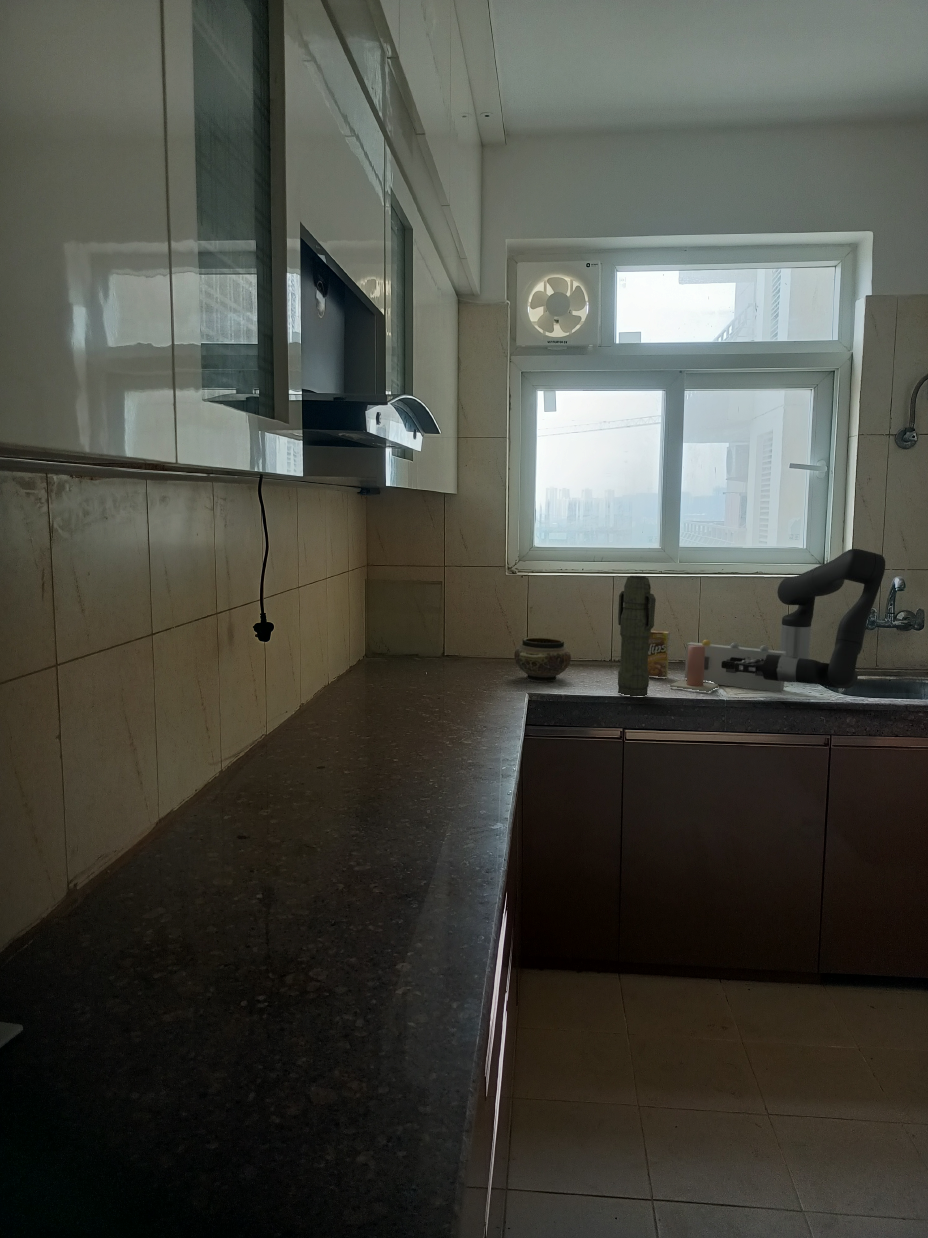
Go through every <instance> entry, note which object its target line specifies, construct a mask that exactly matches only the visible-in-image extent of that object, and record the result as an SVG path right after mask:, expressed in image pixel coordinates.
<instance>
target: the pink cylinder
mask: <svg viewBox="0 0 928 1238" xmlns="http://www.w3.org/2000/svg"><path fill="white" fill-rule="evenodd" d="M704 660H705V646H701V645H688V662H687V685H689V686H703V680H704Z"/></svg>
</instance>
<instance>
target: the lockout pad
mask: <svg viewBox="0 0 928 1238" xmlns="http://www.w3.org/2000/svg"><path fill="white" fill-rule="evenodd" d="M670 687H677V688H683V689H692V690H699V691H706V692H709V691H711V690H713V689H715V688H718V687H720V686H719V685H718V684H710V683H703V686H689V685H687V681H686V680H685V679H684V680H683V679H681V680H678V681H676V682H673V683H672V684H669V688H670Z"/></svg>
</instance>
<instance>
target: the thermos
mask: <svg viewBox="0 0 928 1238" xmlns="http://www.w3.org/2000/svg"><path fill="white" fill-rule="evenodd" d="M651 589H652V587H651V582H650V580H649V577H647V576H645V575H630V576H627V577H626V580H625V583H624V586H623V590H621V592H620V593H619V595H618V609H617V610H618V613H617V615H618V616H617V621H618V623H617V624H618V626H619V629H620V631H619V635H620V637H621V638H620V639H621V642H620V643H621V645H620V646H621V647H620V667H619V669H618V671H617V686H618V688H617V694H618V693H621V694H624V695H630V696H645V695H647V694H648V691H649V690H648V689H649V685H650V678H649V671H648V646H649V638H650V636H651V631H652V629H653V628H654V627H655V614H656V613H655V612H656V603H657V601H656V597H655V595H654V593H651V591H652V590H651ZM647 696H648V695H647ZM645 697H646V696H645Z"/></svg>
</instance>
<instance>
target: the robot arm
mask: <svg viewBox="0 0 928 1238" xmlns="http://www.w3.org/2000/svg"><path fill="white" fill-rule="evenodd" d="M885 571H886V559H885V557H884V556H883V555H881V554H879V553H875V552H872V551H868V550H863V549H862V548H861V549H859V548H851V549H848V550H846V551H844V552H843V553H841V554H840V555H839V556H837V557H835V558H833V559H831V560H830V561H827V562H825V563H824V564H820V565H818V566H816V567H814V568H812V569H810V570H807V571H804V572H803V573H800V574H798V575H795V576H790V577H785V578H783V579H782V580H781V581H780V583H779V585H778V587H777V597H778V599H779V601H780V602H781V603H782V604H784V605H787V606H798V607H797V608H796V610H794V611H793V612H791V613H789V614H786V615H785V614H784V615H783V616H782V618H781V629H780V630H781V631H780V643H779V644H780V646H779V651H784V652H786V656H781V655H771V654H767V655H766V656H765V658H764V659H760V658H752V657H747V658H746V657H745V658H736V657H731V658H730V661H722V665H721V667H722V668H724V669H733V670H735V672H744V673H752V674H754V673H757V672H762V673H763V678H764V679H765V680H773V681H782V682H784V683H799V684H800V683H801V684H807V685H808V684H809V685H810V684H811V685H820V686H824V687H828V688H829V687H830V688H834V689H840V690H841V689H842V690H843V689H844V690H846V689H849V688H850V689H851V688H852V687H854V686H855V684H856V683H857V681H858V680H859V679H858V676H859V675H858V672H857V670H856V666H857V663H858V662H857V661H858V656H859V655H860V654H861V651H862V649H863V645H864V644H863V643H864V639H865V634H866V628H867V624H868V622H869V618H870V616H871V615H870V614H871V612H872V609H873V607H874V604H875V602H876V601H875V600H876V599H877V596H878V593H879V590H880V587H881V584H882V581H883V578H884V575H885ZM846 580H847V581H850V582H853V583H854V582H855V583H858V584H863V589H862V593H861V595H860V597H859V598H858V599H857V601H856V602H855V604H854V605H853V606H852V607H851V608H850V609H849V610H847V612H846V613H845V614H844V615H843V616H842V617H841V620H840V622H839V623H838V627H837V632H836V637H835V643H834V649H833V652H832V654H831V656H830V659H829V663H828V662H821V661H818V660H816V659H810V650H811V647H810V646H811V634H812V633H811V632H812V622H813V618H814V611H815V610H814V609H815V602H816V597H824V596H829V595H831V594H834V593H836V592H837V591H839V590H840V589H842V587H843V586H844V583H845V581H846ZM739 665H740V666H742V668H739Z"/></svg>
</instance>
